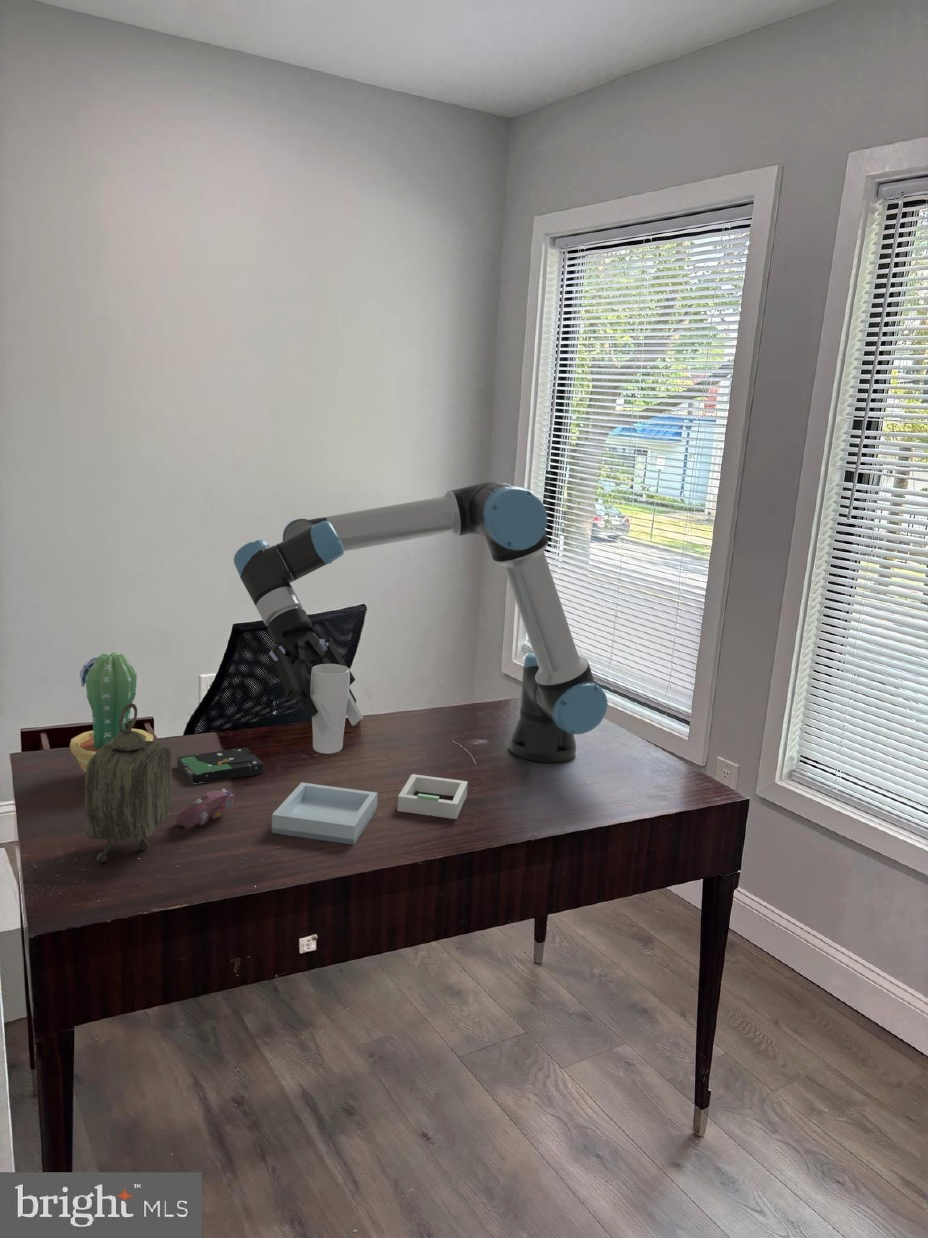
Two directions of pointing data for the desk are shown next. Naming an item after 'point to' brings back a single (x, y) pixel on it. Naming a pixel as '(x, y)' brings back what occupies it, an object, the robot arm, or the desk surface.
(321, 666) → the drinking glass
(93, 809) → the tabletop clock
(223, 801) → the pink toy figurine
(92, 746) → the potted cactus
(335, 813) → the tray
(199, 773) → the disk drive
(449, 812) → the frame
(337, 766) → the desk surface
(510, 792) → the desk surface
